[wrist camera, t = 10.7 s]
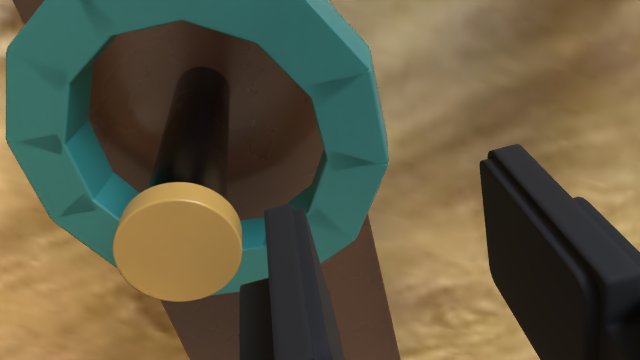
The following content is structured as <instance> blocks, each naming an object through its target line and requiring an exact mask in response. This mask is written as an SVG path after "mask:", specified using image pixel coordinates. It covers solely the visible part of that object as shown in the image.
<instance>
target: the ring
mask: <svg viewBox="0 0 640 360" xmlns="http://www.w3.org/2000/svg"><path fill="white" fill-rule="evenodd" d="M179 21H185V22H189V23H192V24H195V25H198V26H201V27H205V28H208V29H211V30H214V31H217V32H221V33H224V34H227V35H230V36H233V37H237V38H240V39H243V40H246V41H249V42H253V43H256V44H258V45H259V46H260V47H261V48H262V49H263V50H264V51H265V52H266V53H267V54H268V55H269V56H270V57H271V58H272V59H273V60H274V61H275V62H276V63H277V64H278V65H279V66H280V67H281V68H282V69H283V70H284V71H285V72H286V74H287V75H288V76H289V77H290V78H291V79H292V80H293V81H294V82H295V83H296V84H297V85H298V86H299V87H300V88H301V89H302V90H303V91H304V92H305V93H306V94H307V95H308V96H309V97H310V98H311V102H312V106H313V110H314V113H315V117H316V121H317V125H318V129H319V133H320V137H321V140H322V144H323V148H324V150H323V153H322V156H321V158H320V161H319V164H318V167H317V170H316V173H315V175H314V178H313V181H312V184H311V185H310V186H309V187H307V188H306V189H305V190H303V191H302V192H301V193H299V194H298V195H297V196H296V197H294V198H293V199H292V200H290V201H289V202H288V203H286V204H290V203H291V204H292V206H293V208H294V210H296V209H299V208H303V207H304V210H305V213H306V216H307V219H308V223H309V226H310V230H311V233H312V237H313V240H314V244H315V247H316V250H317V254H318V257H319V261H320V264H321V263H323V262H324V261H326V260H327V259H329V258H330V257H331V256H333V255H334V254H336V253H337V252H339V251H340V250H342V249H343V248H345V247H346V246H348V245H349V244H350V243H352V242H353V241H355V239H356V238H357V236H358V234H359V232H360V230H361V227H362V225H363V223H364V220H365V218H366V216H367V213H368V211H369V209H370V206H371V204H372V202H373V199H374V197H375V195H376V192H377V190H378V188H379V185H380V183H381V181H382V178H383V176H384V174H385V171H386V169H387V167H388V161H389V157H388V144H387V133H386V128H385V123H384V118H383V113H382V107H381V102H380V97H379V92H378V87H377V82H376V76H375V71H374V66H373V61H372V56H371V51H370V49H369V46H368V45H367V44H366V43H365V42H364V41H363V39H362V38H361V37H360V36H359V35H358V34H357V33H356V32H355V31H354V29H353V28H352V27H351V26H350V25H349V24H348V23H347V22H346V21H345V19H344V18H343V17H342V16H341V15H340V14H339V13H338V12H337V11H336V10H335V8H334V7H333V6H332V5H331V4H330V3H329V2H328V1H327V0H44V2H43V3H42V4H41V5H40V7H39V8H38V9H37V10H36V12H35V13H34V14H33V16H32V17H31V18H30V19H29V21H28V22H27V23H26V24H25V26H24V27H23V28H22V30H21V31H20V32H19V33H18V35H17V36H16V37H15V38H14V40H13V41H12V42H11V44H10V45H9V46H8V48H7V52H6V140H7V144H8V146H9V147H10V149H11V151H12V152H13V154H14V156H15V158H16V159H17V161H18V163H19V165H20V166H21V168H22V170H23V171H24V173H25V175H26V177H27V178H28V180H29V182H30V184H31V185H32V187H33V189H34V191H35V192H36V194H37V196H38V197H39V199H40V201H41V203H42V204H43V206H44V208H45V210H46V211H47V213H48V215H49V217H50V218H51V219H53V222H55V223H56V224H58V225H59V226H60V227H62V228H63V229H64V230H66V231H67V232H68V233H70V234H71V235H73V236H74V237H75V238H77V239H78V240H79V241H81V242H82V243H84V244H85V245H86V246H88V247H89V248H90V249H92V250H93V251H94V252H96V253H97V254H99V255H100V256H101V257H103V258H104V259H105V260H107V261H108V262H109V263H111V264H112V265H114V266H115V267H116V268H117V265H116V263H115V260H114V256H113V240H114V236H115V233H116V230H117V227H118V224H119V221H120V218H121V215H122V213H123V211H124V209H125V208H126V206H127V205H128V204H129V203H130V201H131V200H132V199H133V198H135V197H136V196H137V195H138V194H140V193H139V192H138V191H137V190H136V189H134V188H133V187H132V186H131V185H129V184H128V183H127V182H126V181H124V180H123V179H122V178H121V177H119V176H118V175H117V174H116V173H114V172H113V170H112V168H111V166H110V163H109V161H108V159H107V157H106V155H105V153H104V151H103V149H102V147H101V145H100V143H99V141H98V139H97V137H96V135H95V132H94V130H93V128H92V126H91V124H90V122H89V120H88V116H89V106H90V95H91V84H92V73H93V63H94V62H95V61H96V60H97V59H98V57H99V56H100V55H101V54H102V53H103V52H104V51H105V50H106V49H107V47H108V46H109V45H110V44H111V43H112V42H113V41H114V40H115V38H116V37H117V36H118V35H121V34H125V33H130V32H134V31H139V30H143V29H148V28H152V27H157V26H161V25H166V24H170V23H174V22H179ZM286 204H285V205H286ZM240 222H241V226H242V259H241V264H240V266H239V269H238V271H237V272H236V274H235V276H234V277H233V278H232V279H231V281H230V282H229V283H228V284H227V285H226V286H225V287H223V288H222V289H221V290H219V291H217V292H216V293H214V294H212V295H219V294H226V293H234V292H240V286H241V285H242V284H246V283H250V282H254V281H258V280H262V279H265V278H269V275H268V261H267V247H266V232H265V218H264V217H259V218H253V219H246V220H240ZM210 296H211V295H210Z"/></svg>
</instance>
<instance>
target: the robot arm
mask: <svg viewBox="0 0 640 360" xmlns="http://www.w3.org/2000/svg"><path fill="white" fill-rule="evenodd" d="M480 175H481V186H482V196H483V206H484V216H485V226H486V237H487V247H488V257H489V266H490V271H491V275H492V278H493V280H494V283H495V284H496V286H497V288H498V290H499V291H500V293H501V295H502V296H503V298H504V300H505V301H506V303H507V305H508V306H509V308H510V310H511V311H512V313H513V315H514V316H515V318H516V320H517V321H518V323H519V325H520V326H521V328H522V330H523V331H524V333H525V335H526V336H527V338H528V340H529V341H530V343H531V345H532V346H533V348H534V350H535V351H536V353H537V355H538V356H539V358H540V360H640V252H639V251H638V250H637V249H636V248H635V247H634V246H633V245H632V244H631V243H630V242H629V241H628V240H627V239H626V238H625V237H624V236H623V235H622V234H621V233H620V232H619V231H618V230H617V229H615V228H614V227H613V226H612V225H611V224H610V223H609V222H608V221H607V220H606V219H605V218H604V217H603V216H602V215H601V214H600V213H599V212H598V211H597V210H596V209H595V208H594V207H593V206H592V205H591V204H590V203H589V202H588V201H587V200H585V199H584V198H581V197H576V198H572V197H571V196H570V195H569V194H568V193H567V192H566V191H565V190H564V189H563V188H562V187H561V186H560V185H559V184H558V183H557V182H556V181H555V180H554V179H553V178H552V177H551V176H550V175H549V174H548V173H547V172H546V171H545V170H544V169H543V168H542V167H541V166H540V165H539V164H538V162H537V161H536V160H535V159H534V158H533V157H532V156H531V155H530V154H529V153H528V152H527V151H526V150H525V149H524V148H523V147H522V146H521V145H519V144H515V145H511V146H507V147H503V148H500V149H496V150H492V151H489V153H488V159H487V160H483V161H481V162H480ZM264 218H265V232H266V247H267V261H268V275H269V278H265V279H262V280H258V281H254V282H250V283H246V284H242V285H241V286H240V293H239V343H240V360H345V358H344V353H343V349H342V344H341V339H340V334H339V330H338V325H337V321H336V317H335V313H334V309H333V305H332V302H331V298H330V295H329V292H328V288H327V285H326V281H325V278H324V274H323V271H322V268H321V264H320V261H319V257H318V254H317V250H316V247H315V244H314V240H313V237H312V233H311V230H310V226H309V223H308V219H307V216H306V213H305V210H304V207H303V208H299V209H296V210H294V208H293V206H292V204H291V203H290V204H286V205H282V206H278V207H274V208H270V209H267V210H264Z"/></svg>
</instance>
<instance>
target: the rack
mask: <svg viewBox="0 0 640 360" xmlns="http://www.w3.org/2000/svg"><path fill="white" fill-rule="evenodd" d="M13 2H14V4H15V6H16V8H17V10H18V12H19V14H20V16H21V18H22V20H23V22H24V24H26V23H27V22H28V21H29V19H30V18H31V17H32V16H33V14H34V13H35V12H36V10H37V9H38V8H39V7H40V5H41V4H42V3H43V2H44V0H13ZM88 120H89V122H90V124H91V126H92V128H93V130H94V132H95V135H96V137H97V139H98V141H99V143H100V145H101V147H102V149H103V151H104V153H105V155H106V157H107V159H108V161H109V163H110V166H111V168H112V170H113V172H114V173H116V174H117V175H118V176H119V177H121V178H122V179H123V180H124V181H126V182H127V183H128V184H129V185H131V186H132V187H133V188H134V189H136V190H137V191H138V192H139V193H140V194H138V195H137V196H136V197H135V198H133V199H132V200H131V201H130V203H129V204H128V205H127V206H126V208H125V209H124V211H123V213H122V215H121V218H120V221H119V224H118V227H117V230H116V233H115V236H114V240H113V256H114V260H115V263H116V265H117V268H118V270H119V271H120V273H121V275H122V276H123V277H124V278H125V280H126V281H127V282H128V283H129V284H130V285H132V286H133V287H134V288H136V289H137V290H138V291H140V292H142V293H144V294H146V295H148V296H151V297H153V298H157V299H160V300H161V302H162V304H163V306H164V308H165V310H166V312H167V314H168V316H169V318H170V320H171V322H172V324H173V326H174V328H175V330H176V332H177V334H178V336H179V338H180V340H181V342H182V344H183V346H184V348H185V350H186V352H187V354H188V356H189V358H190V360H240V343H239V293H240V292H234V293H226V294H219V295H212V294H214V293H216V292H217V291H219V290H221V289H222V288H223V287H225V286H226V285H227V284H228V283H229V282H230V281H231V279H232V278H233V277H234V276H235V274H236V272H237V271H238V269H239V266H240V264H241V259H242V226H241V222H240V220H246V219H253V218H259V217H264V210H267V209H270V208H274V207H278V206H282V205H285V204H286V203H288V202H289V201H290V200H292V199H293V198H294V197H296V196H297V195H298V194H299V193H301V192H302V191H303V190H305V189H306V188H307V187H309V186H310V185H311V184H312V181H313V178H314V175H315V173H316V170H317V167H318V164H319V161H320V158H321V156H322V153H323V150H324V148H323V144H322V140H321V137H320V133H319V129H318V125H317V121H316V117H315V113H314V110H313V106H312V102H311V98H310V97H309V96H308V95H307V94H306V93H305V92H304V91H303V90H302V89H301V88H300V87H299V86H298V85H297V84H296V83H295V82H294V81H293V80H292V79H291V78H290V77H289V76H288V75H287V74H286V72H285V71H284V70H283V69H282V68H281V67H280V66H279V65H278V64H277V63H276V62H275V61H274V60H273V59H272V58H271V57H270V56H269V55H268V54H267V53H266V52H265V51H264V50H263V49H262V48H261V47H260V46H259V45H258V44H256V43H253V42H249V41H246V40H243V39H240V38H237V37H233V36H230V35H227V34H224V33H221V32H217V31H214V30H211V29H208V28H205V27H201V26H198V25H195V24H192V23H189V22H185V21H179V22H174V23H170V24H166V25H161V26H157V27H152V28H148V29H143V30H139V31H134V32H130V33H125V34H121V35H118V36H117V37H116V38H115V40H114V41H113V42H112V43H111V44H110V45H109V46H108V47H107V49H106V50H105V51H104V52H103V53H102V54H101V55H100V56H99V57H98V59H97V60H96V61H95V62H94V63H93V73H92V84H91V95H90V106H89V116H88ZM321 268H322V271H323V274H324V278H325V281H326V285H327V288H328V292H329V295H330V298H331V302H332V305H333V309H334V313H335V317H336V321H337V325H338V330H339V334H340V339H341V344H342V349H343V353H344V358H345V360H400V355H399V351H398V346H397V342H396V337H395V333H394V329H393V324H392V320H391V315H390V311H389V306H388V302H387V297H386V293H385V288H384V284H383V279H382V275H381V271H380V266H379V262H378V257H377V253H376V248H375V244H374V239H373V235H372V230H371V226H370V221H369V217H368V213H367V216H366V218H365V220H364V223H363V225H362V227H361V230H360V232H359V234H358V236H357V238H356V239H355V241H353V242H352V243H350V244H349V245H348V246H346V247H345V248H343V249H342V250H340V251H339V252H337V253H336V254H334V255H333V256H331V257H330V258H329V259H327V260H326V261H324V262H323V263H321ZM210 295H211V296H210Z"/></svg>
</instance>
